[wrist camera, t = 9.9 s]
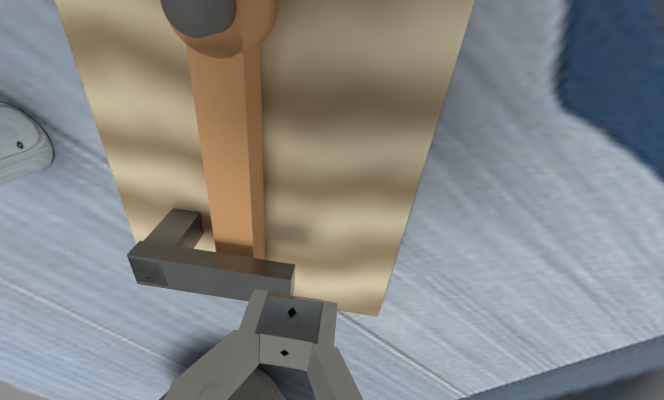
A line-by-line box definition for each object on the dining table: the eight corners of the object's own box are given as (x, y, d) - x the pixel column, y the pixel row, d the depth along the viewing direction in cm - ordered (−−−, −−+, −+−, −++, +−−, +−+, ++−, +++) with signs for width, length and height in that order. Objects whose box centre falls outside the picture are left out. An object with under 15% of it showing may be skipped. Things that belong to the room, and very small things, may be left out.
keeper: (181, 195, 28) (126, 254, 22) (309, 214, 28) (290, 280, 21) (186, 221, 30) (137, 283, 24) (307, 240, 29) (289, 307, 23)
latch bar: (181, -64, 16) (116, -81, 12) (277, -52, 16) (244, -65, 12) (224, 268, 30) (200, 313, 26) (276, 276, 30) (260, 322, 26)
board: (39, -115, 17) (13, -123, 16) (485, -60, 16) (494, -64, 15) (156, 269, 34) (148, 280, 33) (377, 304, 33) (377, 316, 32)
